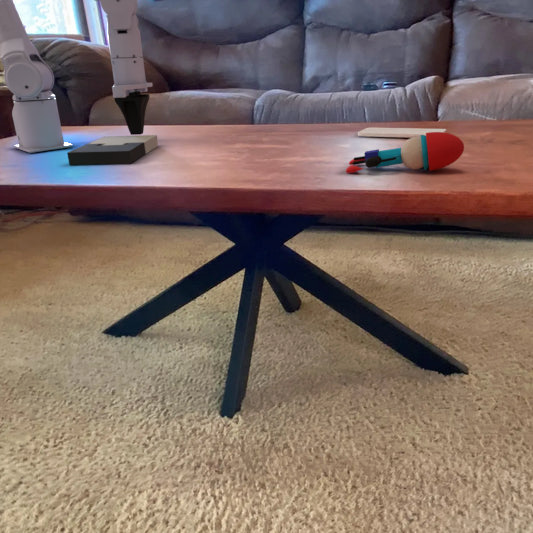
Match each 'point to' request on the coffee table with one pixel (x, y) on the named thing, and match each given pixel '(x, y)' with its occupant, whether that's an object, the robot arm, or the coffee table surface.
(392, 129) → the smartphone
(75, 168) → the coffee table surface
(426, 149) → the toy figure
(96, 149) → the black pad
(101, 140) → the grey pad
